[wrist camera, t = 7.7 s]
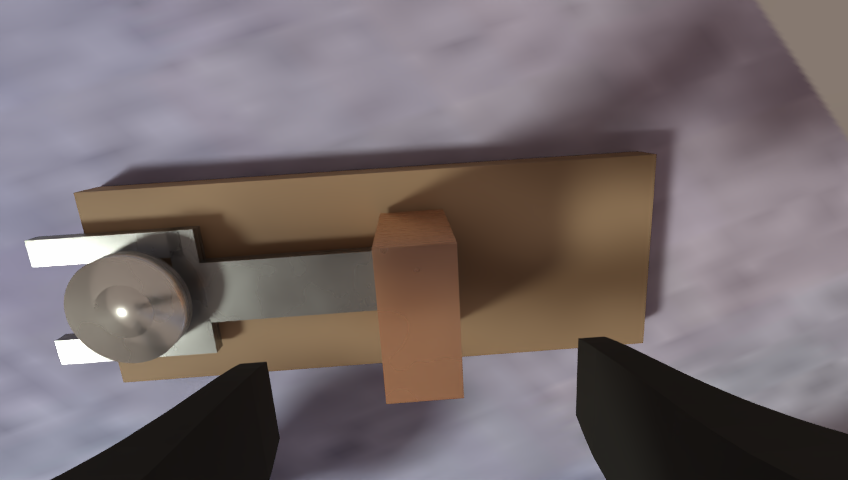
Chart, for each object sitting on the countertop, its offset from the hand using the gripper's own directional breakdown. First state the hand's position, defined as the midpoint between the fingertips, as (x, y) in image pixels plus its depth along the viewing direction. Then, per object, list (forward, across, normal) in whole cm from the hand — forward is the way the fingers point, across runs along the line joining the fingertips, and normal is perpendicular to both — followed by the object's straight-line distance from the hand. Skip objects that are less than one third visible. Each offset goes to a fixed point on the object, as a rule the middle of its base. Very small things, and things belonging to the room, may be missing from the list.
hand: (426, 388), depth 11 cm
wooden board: (+10, +2, 0) cm, 10 cm away
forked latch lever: (+8, +6, 0) cm, 10 cm away
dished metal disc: (+8, +10, 0) cm, 13 cm away
